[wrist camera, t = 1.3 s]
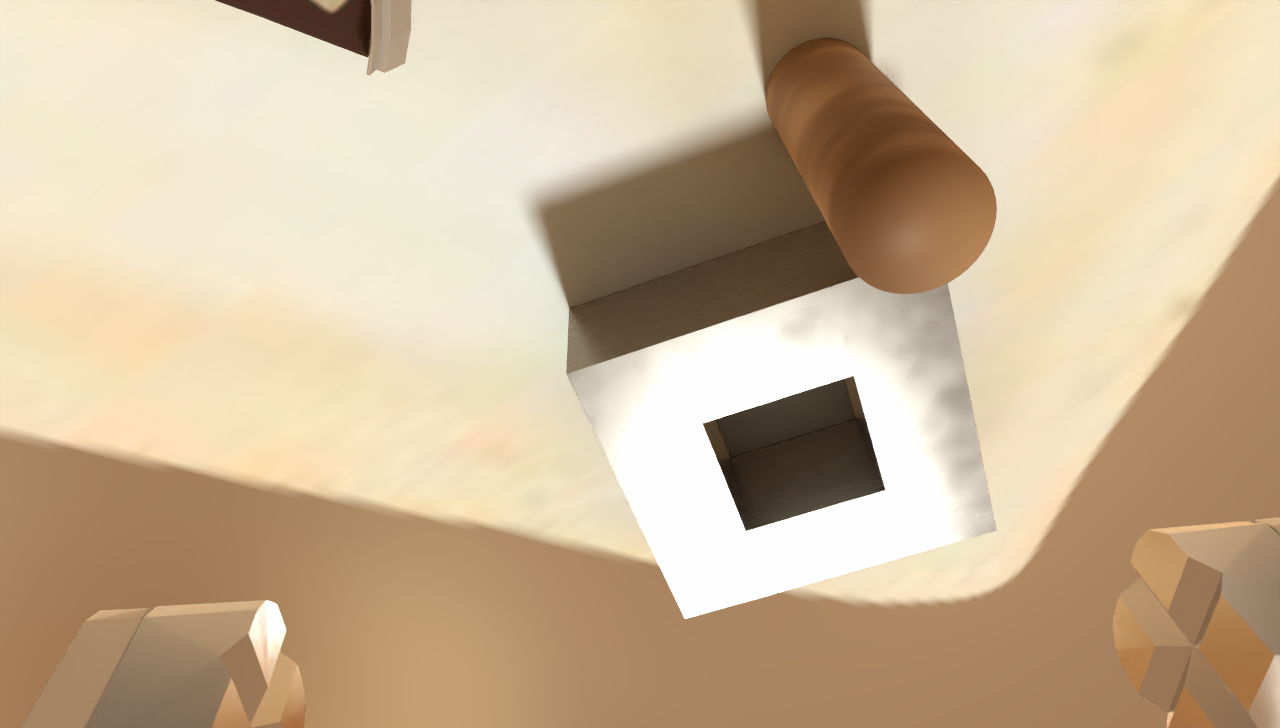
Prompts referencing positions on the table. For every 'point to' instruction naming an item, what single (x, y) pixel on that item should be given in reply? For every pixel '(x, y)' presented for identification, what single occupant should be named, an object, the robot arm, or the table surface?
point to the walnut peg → (879, 170)
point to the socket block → (764, 372)
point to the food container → (345, 24)
